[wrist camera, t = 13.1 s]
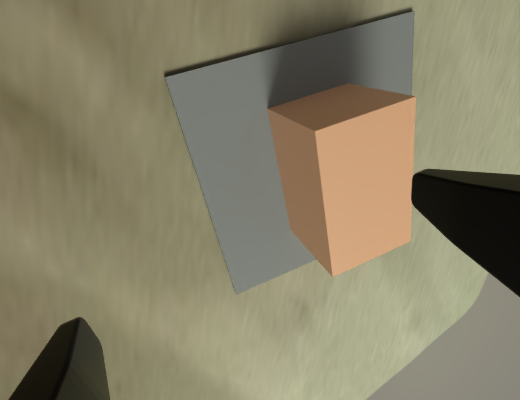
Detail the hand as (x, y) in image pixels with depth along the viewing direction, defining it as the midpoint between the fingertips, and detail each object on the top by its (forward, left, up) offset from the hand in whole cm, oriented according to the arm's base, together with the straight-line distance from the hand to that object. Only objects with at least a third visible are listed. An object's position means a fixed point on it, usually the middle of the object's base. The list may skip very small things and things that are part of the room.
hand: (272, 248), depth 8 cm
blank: (+7, -3, -10) cm, 13 cm away
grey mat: (+7, -4, -10) cm, 13 cm away
